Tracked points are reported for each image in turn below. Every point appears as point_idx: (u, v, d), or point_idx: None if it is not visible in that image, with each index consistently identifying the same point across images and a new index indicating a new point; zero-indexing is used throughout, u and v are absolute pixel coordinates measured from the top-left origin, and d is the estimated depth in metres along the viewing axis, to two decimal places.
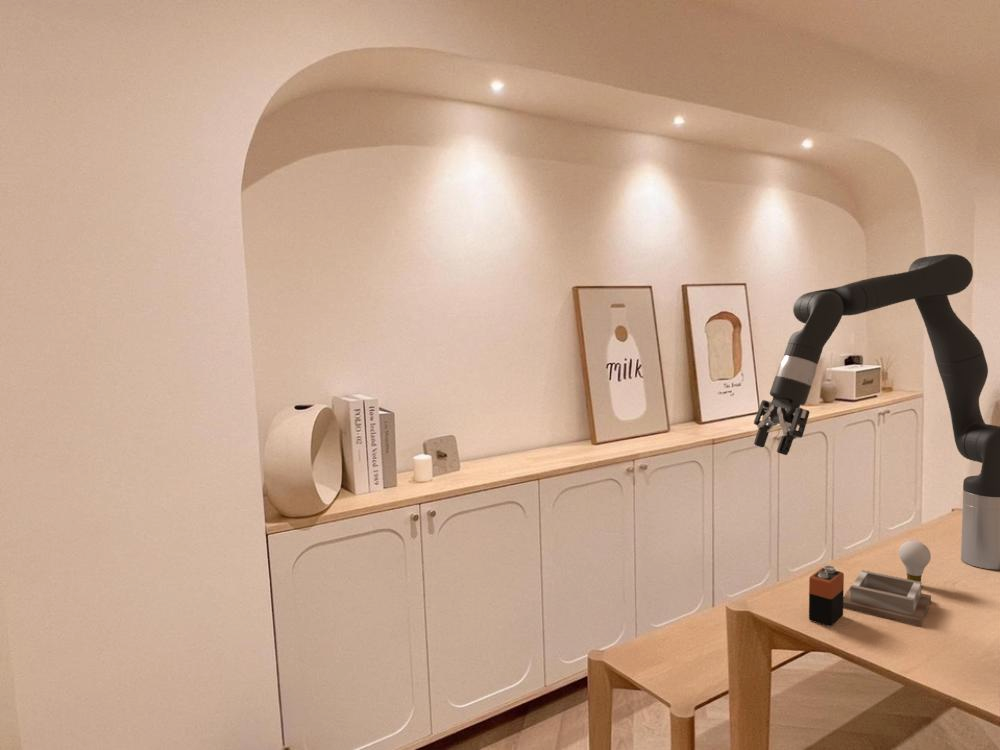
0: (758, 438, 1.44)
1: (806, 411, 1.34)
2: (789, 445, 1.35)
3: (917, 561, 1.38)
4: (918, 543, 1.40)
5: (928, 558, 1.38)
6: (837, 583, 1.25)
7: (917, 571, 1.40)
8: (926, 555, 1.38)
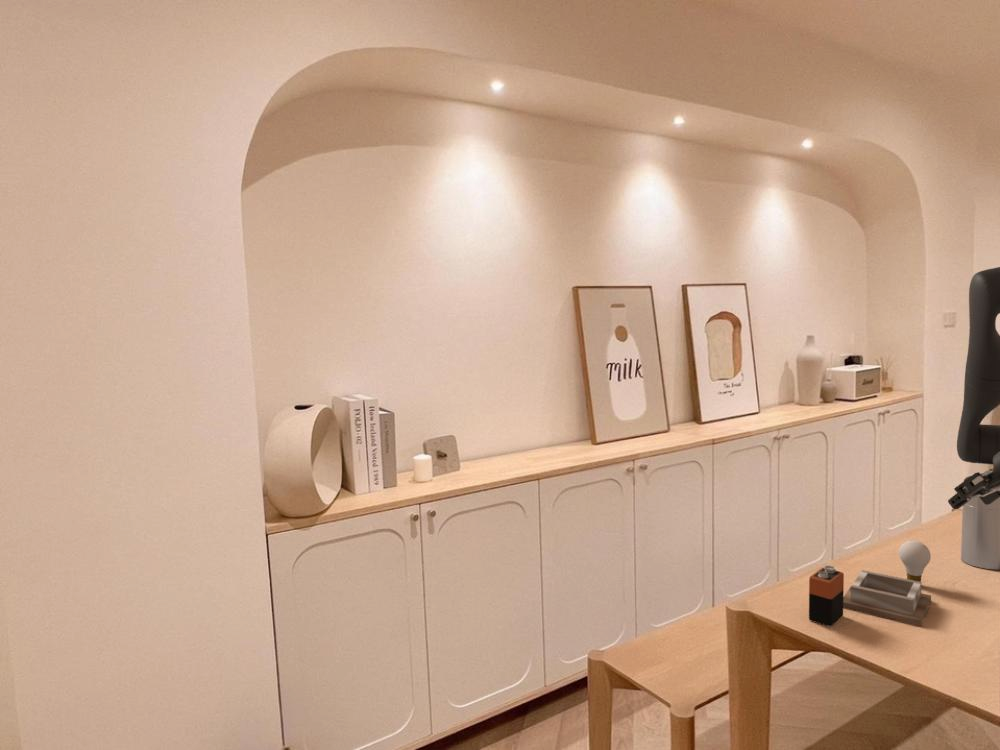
0: None
1: None
2: None
3: (917, 561, 1.38)
4: (918, 543, 1.40)
5: (928, 558, 1.38)
6: (837, 583, 1.25)
7: (917, 571, 1.40)
8: (926, 555, 1.38)
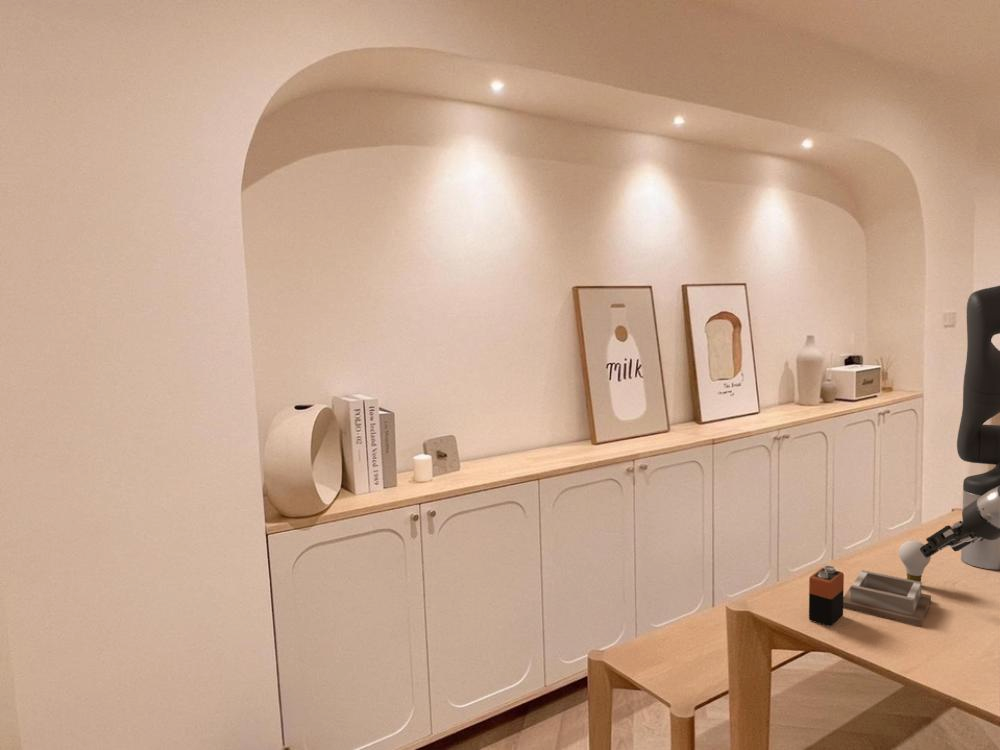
0: None
1: None
2: None
3: (917, 561, 1.38)
4: (918, 543, 1.40)
5: (928, 558, 1.38)
6: (837, 583, 1.25)
7: (917, 571, 1.40)
8: None
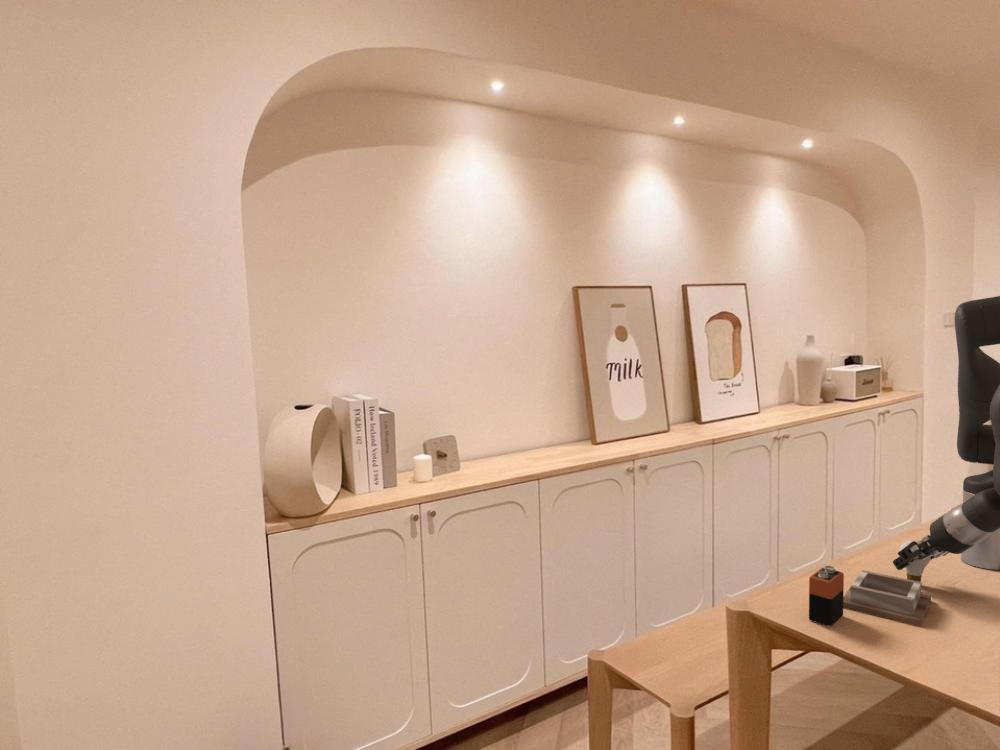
0: None
1: None
2: None
3: (917, 560, 1.38)
4: None
5: (928, 558, 1.38)
6: (837, 583, 1.25)
7: (917, 571, 1.40)
8: None
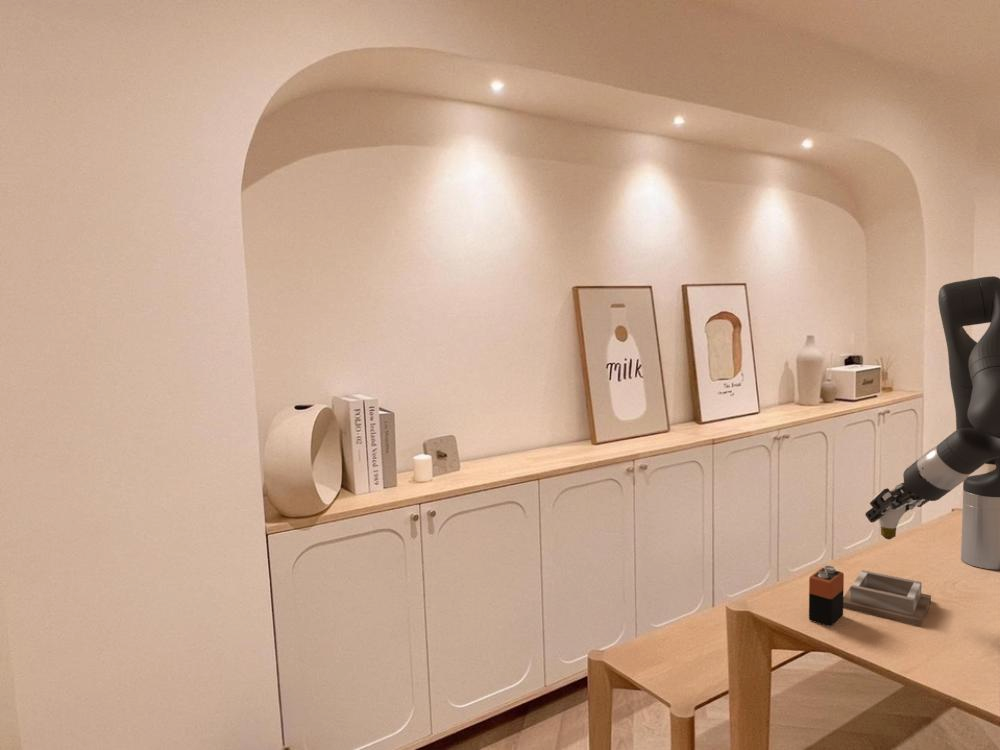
0: None
1: None
2: None
3: (891, 511, 1.28)
4: None
5: (903, 508, 1.29)
6: (837, 583, 1.25)
7: (891, 523, 1.30)
8: None
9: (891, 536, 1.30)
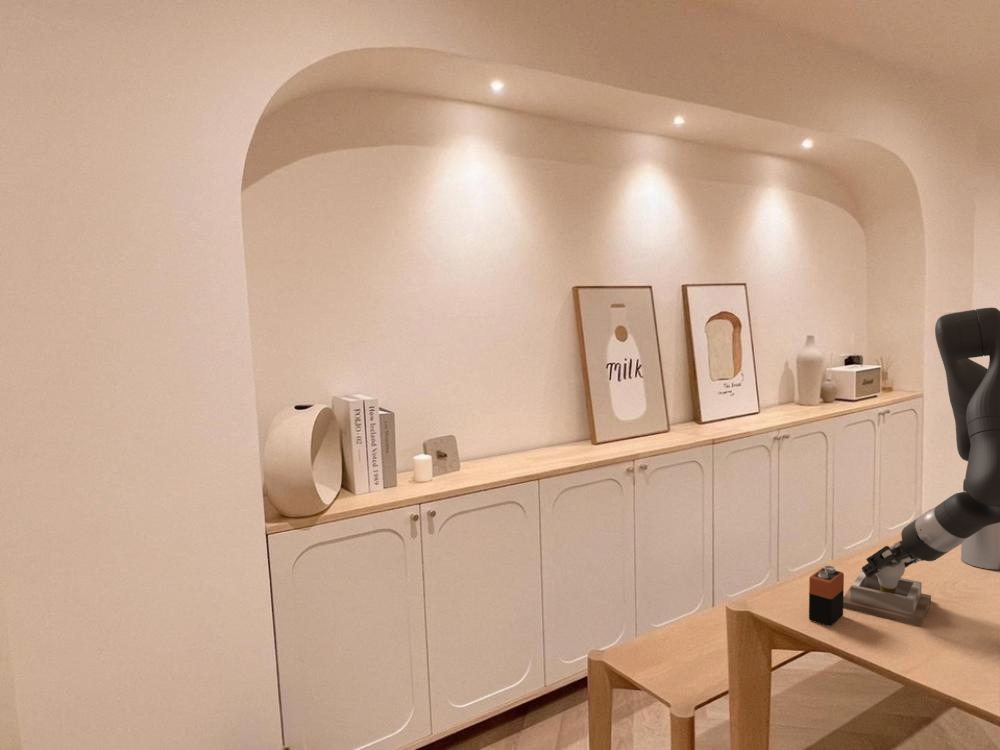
0: None
1: None
2: None
3: (890, 573, 1.30)
4: None
5: (902, 570, 1.30)
6: (837, 583, 1.25)
7: (890, 584, 1.31)
8: (900, 567, 1.30)
9: None
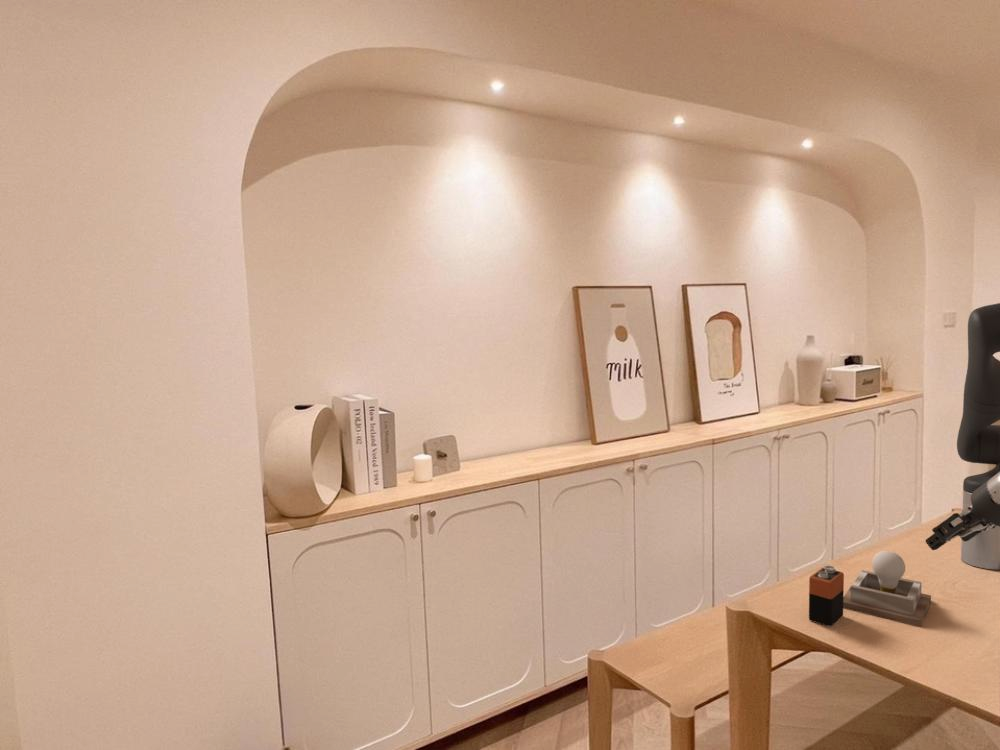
0: None
1: None
2: None
3: (891, 572, 1.30)
4: (892, 554, 1.31)
5: (902, 570, 1.30)
6: (837, 583, 1.25)
7: (890, 584, 1.31)
8: (900, 567, 1.30)
9: None
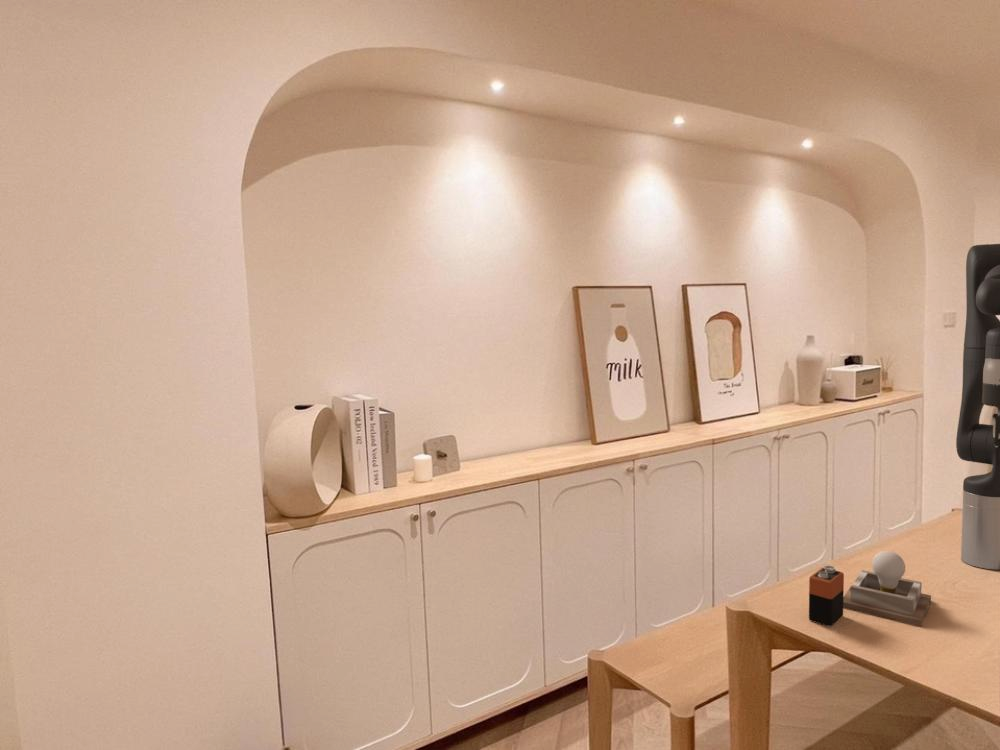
0: None
1: None
2: None
3: (891, 573, 1.30)
4: (892, 554, 1.31)
5: (902, 570, 1.30)
6: (837, 583, 1.25)
7: (890, 584, 1.31)
8: (900, 567, 1.29)
9: None
